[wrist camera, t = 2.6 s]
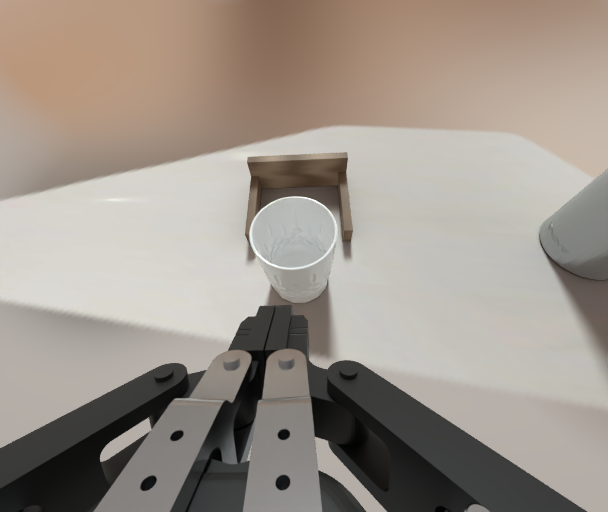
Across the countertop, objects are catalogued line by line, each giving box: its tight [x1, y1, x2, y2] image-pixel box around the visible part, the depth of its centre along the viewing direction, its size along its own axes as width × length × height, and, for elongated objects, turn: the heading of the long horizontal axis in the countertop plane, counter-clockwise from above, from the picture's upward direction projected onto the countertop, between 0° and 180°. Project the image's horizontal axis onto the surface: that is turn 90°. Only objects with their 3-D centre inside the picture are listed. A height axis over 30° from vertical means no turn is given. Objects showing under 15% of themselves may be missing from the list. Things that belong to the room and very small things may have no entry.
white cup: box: [249, 196, 338, 303], centre depth 29 cm, size 8×8×10 cm
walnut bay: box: [245, 152, 353, 245], centre depth 36 cm, size 13×10×5 cm
